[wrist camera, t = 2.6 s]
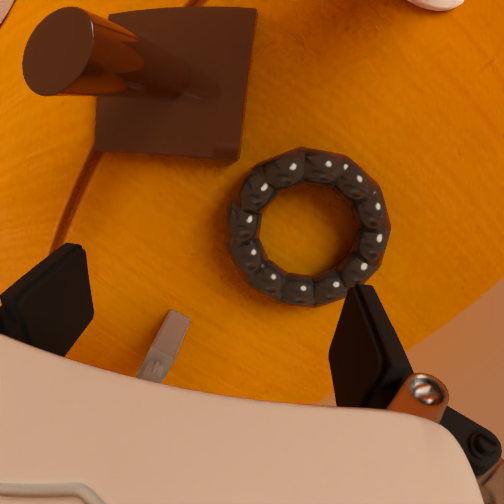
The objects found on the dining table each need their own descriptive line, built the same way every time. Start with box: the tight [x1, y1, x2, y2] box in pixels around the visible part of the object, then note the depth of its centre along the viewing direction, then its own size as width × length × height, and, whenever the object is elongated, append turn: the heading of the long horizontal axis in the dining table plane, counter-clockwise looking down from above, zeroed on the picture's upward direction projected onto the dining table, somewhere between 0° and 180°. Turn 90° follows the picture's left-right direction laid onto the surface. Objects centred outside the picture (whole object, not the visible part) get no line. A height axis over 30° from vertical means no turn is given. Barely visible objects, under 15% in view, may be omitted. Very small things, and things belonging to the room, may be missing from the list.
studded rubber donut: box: [224, 147, 391, 308], centre depth 18 cm, size 10×10×2 cm
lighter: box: [136, 310, 191, 383], centre depth 20 cm, size 7×2×8 cm, turn 150°
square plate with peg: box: [22, 7, 258, 161], centre depth 11 cm, size 9×9×11 cm
